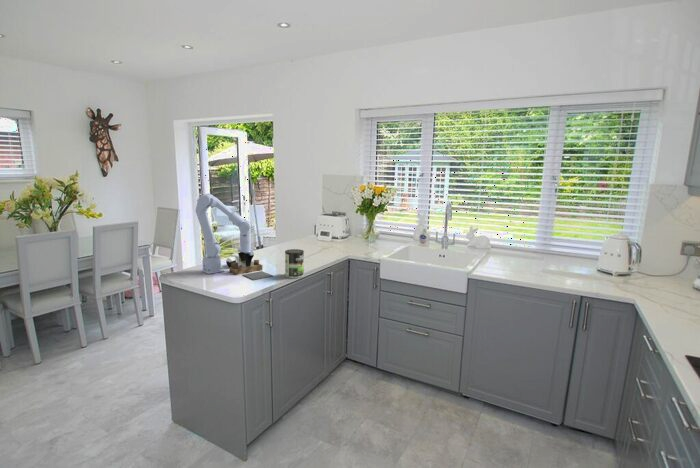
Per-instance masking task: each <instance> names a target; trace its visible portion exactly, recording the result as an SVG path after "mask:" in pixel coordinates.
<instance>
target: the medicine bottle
mask: <svg viewBox="0 0 700 468" xmlns="http://www.w3.org/2000/svg"><path fill="white" fill-rule="evenodd" d="M238 253H240V251H238V252H235V253H232V254H230V256H229V257H227V258H226V260H225V263H226V265H227V267H228V268H229V267H231V263H233V262H237V263H238V266H239V262H241V259H240V257H239V255H238Z"/></svg>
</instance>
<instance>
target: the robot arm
mask: <svg viewBox="0 0 700 468" xmlns="http://www.w3.org/2000/svg"><path fill="white" fill-rule="evenodd" d="M210 207H212V208H213V207H214V208H217V209H218V210H220V211H221V212H222V213H223V214H224V215H226V216H227V217H228V220H229V221H230V222H231V223H232V224H234V225H235V226H236V227H237V228H238V230H239V233H240V234H239V235H240V236H239V238H240V239H239V241H240V243H239V244H240V245H239V246H240V247H238V248H237V251H238V252H240V253H238V252H237V253H238V255H239V257H240V259H241V261H246V266H247V267H248V266H250V265H251V261H252V262H253V257H255V256H254V255H255V253H254V249H253V248H252V235H251V228H252V225H251V224H252V223H251V222H250V221H249V220H247V219H246V218H244V217H242V216H241V215H240V212H236V211H232V210H231V209H230V208H229V207H228V206H227V205H225V204H224V203H223V202H222V201H221V200H220V199H219V198H217V197H216V196H214V195H213V194H212V193H206V194H201V195H200V196H199V197H198V199H196V207H195V214H196V216H197V220H198V223H199V225H200V228H201V229H200V230H201V231H202V234H203V237H204V240H205V243H204V244H205V253H206V257H203V258H202V261H201V262H202V273H205V274H207V275H210V274H215V273H216V274H217V273H222V272H225V270H224V269H222V259H221V258H222V255H221V254H220V252H221V251H222V247H221V245H220V243H219V242H218V240H217V239H216V237H215V234H214V231H213V228H212V225H211V222H210V220H209V217H208V214H207V211H208V209H209V208H210Z"/></svg>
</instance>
